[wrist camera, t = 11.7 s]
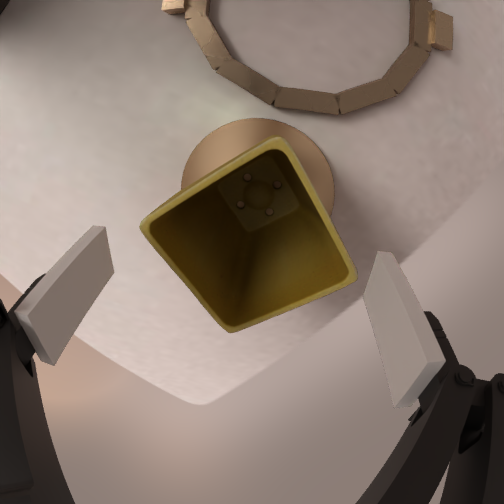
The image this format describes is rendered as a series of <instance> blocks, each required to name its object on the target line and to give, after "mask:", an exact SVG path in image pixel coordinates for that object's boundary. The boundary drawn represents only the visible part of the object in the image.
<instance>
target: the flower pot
mask: <svg viewBox="0 0 504 504" xmlns="http://www.w3.org/2000/svg"><path fill="white" fill-rule="evenodd" d="M245 174H250V175H251V180H249V181H246V180H245V179H244V175H245ZM275 181H279V182H280V183H281V186H280V187H279V188H275V187H274V185H273V184H274V182H275ZM239 201H242V202H244V204H245V205H244V207H242V208H240V207H238V206H237V203H238V202H239ZM268 208H271V209H272V210H273V213H272V214H271V215H268V214H267V213H266V210H267V209H268ZM139 227H140V230H141V232H142V233H143V235H144V236H145V238H146V239H147V240H148V241H149V243H150V244H151V245H152V246H153V247H154V249H155V250H156V251H157V252H158V253H159V255H160V256H161V257H162V258H163V259H164V260H165V261H166V263H167V264H168V265H169V266H170V267H171V269H172V270H173V271H174V272H175V273H176V274H177V275H178V276H179V278H180V279H181V280H182V281H183V282H184V283H185V285H186V286H187V287H188V288H189V289H190V291H191V292H192V293H193V294H194V296H195V297H196V298H197V299H198V300H199V302H200V303H201V304H202V305H203V307H204V308H205V309H206V310H207V311H208V313H209V314H210V315H211V316H212V317H213V318H214V320H215V321H216V322H217V323H218V324H219V325H220V326H221V327H222V328H223V329H224V330H226V331H227V332H228V333H234V332H238V331H241V330H243V329H246V328H248V327H250V326H253V325H256V324H258V323H261V322H263V321H265V320H268V319H270V318H272V317H275V316H278V315H280V314H283V313H285V312H287V311H290V310H292V309H294V308H297V307H299V306H302V305H304V304H307V303H309V302H311V301H313V300H316V299H318V298H321V297H324V296H326V295H328V294H330V293H332V292H335V291H337V290H339V289H342V288H344V287H345V286H347V285H349V284H351V283H353V282H355V281H356V280H357V279H358V272H357V269H356V267H355V265H354V263H353V261H352V260H351V258H350V256H349V254H348V252H347V250H346V248H345V246H344V244H343V242H342V240H341V238H340V236H339V234H338V232H337V230H336V228H335V226H334V224H333V222H332V220H331V218H330V216H329V214H328V212H327V210H326V209H325V207H324V205H323V203H322V201H321V199H320V197H319V195H318V194H317V192H316V190H315V188H314V186H313V184H312V182H311V181H310V179H309V177H308V175H307V173H306V171H305V169H304V167H303V166H302V164H301V162H300V160H299V158H298V157H297V155H296V153H295V151H294V150H293V148H292V147H291V145H290V143H289V142H288V141H287V140H286V139H285V138H283V137H282V136H279V135H272V136H270V137H268V138H266V139H264V140H263V141H261V142H259V143H258V144H256V145H254V146H253V147H251V148H249V149H248V150H246V151H244V152H243V153H241V154H239V155H238V156H236V157H234V158H233V159H231V160H229V161H228V162H226V163H224V164H223V165H221V166H219V167H218V168H216V169H215V170H213V171H211V172H210V173H208V174H206V175H205V176H203V177H202V178H200V179H198V180H197V181H195V182H193V183H192V184H190V185H189V186H187V187H185V188H184V189H182V190H181V191H179V192H178V193H176V194H175V195H173V196H172V197H171V198H170V199H168V200H167V201H166V202H164V203H163V204H162V205H160V206H159V207H158V208H156V209H155V210H154V211H153V212H151V213H150V214H149V215H148V216H147V217H145V218H144V219H143V220H142V221H141V224H140V226H139Z"/></svg>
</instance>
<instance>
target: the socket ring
mask: <svg viewBox="0 0 504 504" xmlns="http://www.w3.org/2000/svg"><path fill="white" fill-rule="evenodd" d="M409 1H410V31H409V45H408V46H407V47H406V49H405V50H404V51H403V52H402V54H401V55H400V56H399V57H398V59H397V60H396V61H395V62H394V64H393V65H392V66H391V67H390V69H389V70H388V71H387V72H386V74H385V75H384V76H383V77H382V78H381V79H378V80H375V81H372V82H369V83H366V84H363V85H360V86H357V87H354V88H351V89H348V90H345V91H342V92H339V93H337V94H332V93H325V92H319V91H312V90H304V89H296V88H287V87H279V86H277V85H276V84H274V83H273V82H271V81H270V80H268V79H266V78H265V77H263V76H262V75H260V74H258V73H257V72H255V71H254V70H252V69H250V68H249V67H247V66H245V65H243V64H242V63H240V62H238V61H237V60H235V59H233V58H232V56H231V55H230V53H229V51H228V49H227V48H226V46H225V44H224V42H223V41H222V39H221V37H220V36H219V34H218V32H217V30H216V29H215V27H214V25H213V24H212V22H211V20H210V19H209V7H210V0H163V3H162V10H163V11H164V12H166V13H168V14H178V13H185V19H187V20H188V21H186V23H187V25H188V27H189V28H190V30H191V32H192V34H193V35H194V37H195V39H196V40H197V42H198V44H199V46H200V47H201V49H202V51H203V53H204V54H205V56H206V58H207V60H208V61H209V63H210V65H211V67H212V69H213V70H217V72H216V73H218V74H220V75H221V76H223V77H225V78H227V79H228V80H230V81H232V82H233V83H235V84H237V85H238V86H240V87H242V88H243V89H245V90H247V91H248V92H250V93H251V94H253V95H255V96H256V97H258V98H259V99H261V100H262V101H264V102H266V103H267V104H269V105H271V103H272V102H273V100H274V99H275V103H274V107H281V108H291V109H300V110H308V111H315V112H322V113H329V114H335V115H338V111H339V113H340V114H342V115H343V114H345V113H348V112H351V111H354V110H356V109H359V108H362V107H365V106H368V105H371V104H374V103H377V102H380V101H383V100H386V99H389V98H392V97H395V96H396V94H400V93H401V91H402V90H403V89H404V88H405V86H406V85H407V84H408V82H409V81H410V80H411V79H412V77H413V76H414V75H415V74H416V72H417V71H418V70H419V68H420V67H421V66H422V65H423V63H424V62H425V61H426V59H427V58H428V57H429V56H430V55H429V54H428V53H427V52H431V47H434V48H436V49H439V50H441V51H446V50H452V44H453V17H452V16H449V15H447V14H445V13H443V12H440V11H438V10H433V11H432V3H430V2H428V1H430V0H409Z"/></svg>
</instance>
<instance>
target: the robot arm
mask: <svg viewBox="0 0 504 504" xmlns="http://www.w3.org/2000/svg"><path fill="white" fill-rule="evenodd" d="M8 1H9V0H0V13H1V12H2V10H3V9H4V7H5V6H6V4H7V3H8ZM113 274H114V268H113V264H112V259H111V254H110V249H109V244H108V239H107V233H106V227H105V226H92V227H91V228H90V229H89V230H88V231H87V232H86V233H85V234H84V235H83V236H82V237H81V238H80V239H79V240H78V241H77V242H76V243H75V244H74V245H73V246H72V247H71V248H70V249H69V250H68V251H67V252H66V253H65V254H64V255H63V256H62V257H61V258H60V259H59V260H58V262H57V263H56V264H55V265H54V266H53V267H52V268H51V269H50V270H49V271H48V272H47V273H46V274H43V275H42V276H40V277H39V278H37V279H36V280H35V281H34V282H33V283H32V284H31V286H30V288H28V289H27V290H26V291H25V292H24V293H25V294H23V295H22V296H21V297H20V298H19V299H18V301H17V302H16V303H15V304H14V306H13V307H12V308H11V309H10V310H9V312H8V313H7V311H6V309H5V307H4V304H3V302H2V300H1V299H0V504H75V502H74V500H73V498H72V495H71V493H70V491H69V488H68V486H67V483H66V480H65V478H64V475H63V473H62V470H61V467H60V464H59V461H58V458H57V455H56V452H55V449H54V446H53V443H52V439H51V436H50V432H49V428H48V425H47V421H46V417H45V413H44V408H43V404H42V399H41V394H40V389H39V384H38V379H37V373H36V367H35V362H34V359H33V358H32V356H33V355H34V353H35V352H36V353H37V355H38V357H39V358H40V360H41V361H42V362H45V363H48V364H51V365H53V366H54V365H55V364H56V362H57V360H58V359H59V357H60V355H61V354H62V352H63V350H64V349H65V347H66V345H67V343H68V342H69V340H70V338H71V337H72V335H73V334H74V332H75V331H76V329H77V327H78V326H79V324H80V323H81V321H82V319H83V318H84V316H85V315H86V313H87V312H88V310H89V309H90V307H91V306H92V304H93V303H94V301H95V300H96V298H97V297H98V295H99V294H100V292H101V291H102V289H103V288H104V286H105V285H106V284H107V282H108V281H109V279H110V278H111V276H112V275H113ZM363 299H364V302H365V305H366V308H367V311H368V315H369V318H370V321H371V324H372V328H373V331H374V335H375V338H376V341H377V344H378V348H379V352H380V355H381V359H382V363H383V366H384V370H385V374H386V377H387V381H388V385H389V390H390V393H391V398H392V402H393V406H394V408H400V407H410V406H412V405H413V403H414V402H415V401H416V400H417V399H419V402H420V407H419V408H418V409H417V410H416V411H415V412H414V414H413V415H412V416H411V417H410V418H409V419H408V420H409V421H411V422H410V424H409V425H408V427H407V429H406V430H405V432H404V434H403V436H402V437H401V439H400V441H399V442H398V444H397V446H396V447H395V449H394V450H393V452H392V454H391V455H390V457H389V458H388V460H387V461H386V463H385V464H384V466H383V467H382V469H381V470H380V472H379V473H378V474H377V476H376V477H375V479H374V480H373V482H372V483H371V484H370V486H369V487H368V488H367V490H366V491H365V492H364V494H363V495H362V496H361V498H360V499H359V500H358V501H357V503H356V504H429V502H430V500H431V498H432V496H433V495H434V493H435V491H436V489H437V487H438V485H439V483H440V481H441V479H442V477H443V475H444V473H445V471H446V469H447V466H448V464H449V462H450V464H449V468H448V473H447V477H446V482H445V486H444V490H443V493H442V497H441V501H440V504H504V374H502V373H498V374H496V375H495V376H494V377H493V378H492V379H491V381H485V380H480V379H476V377H475V375H474V373H473V372H472V370H470V369H469V368H468V367H466V366H463V365H459V363H458V361H457V358H456V356H455V354H454V351H453V349H452V347H451V345H450V343H449V341H448V339H447V338H446V334H445V333H444V331H443V328H442V326H441V324H440V323H439V320H438V319H437V318H436V317H435V316H434V315H433V314H432V313H431V312H429V311H428V312H427V311H426V312H425V311H423V310H422V308H421V306H420V304H419V302H418V300H417V298H416V296H415V294H414V292H413V290H412V288H411V286H410V285H409V282H408V281H407V279H406V277H405V275H404V273H403V271H402V270H401V268H400V266H399V264H398V262H397V261H396V259H395V257H394V255H393V254H392V252H384V251H377V255H376V258H375V261H374V264H373V267H372V270H371V274H370V277H369V280H368V283H367V286H366V289H365V291H364V294H363Z"/></svg>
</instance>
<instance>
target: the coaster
mask: <svg viewBox="0 0 504 504" xmlns="http://www.w3.org/2000/svg"><path fill="white" fill-rule="evenodd" d="M272 135H279V136H282V137H283V138H285V139H286V140H287V141H288V142H289V143H290V145H291V147H292V148H293V150H294V151H295V153H296V155H297V157H298V158H299V160H300V162H301V164H302V166H303V167H304V169H305V171H306V173H307V175H308V177H309V179H310V181H311V182H312V184H313V186H314V188H315V190H316V192H317V194H318V195H319V197H320V199H321V201H322V203H323V205H324V207H325V209H326V210H327V212H328V214H329V216H331V213H332V209H333V205H334V196H335V195H334V182H333V176H332V173H331V170H330V167H329V165H328V163H327V161H326V159H325V157H324V155H323V154H322V153H321V151H320V150H319V148H318V147H317V146H316V145H315V144H314V142H313V141H312V140H311V139H309V138H308V137H307V136H306V135H305V134H303V133H302V132H300V131H299V130H297V129H296V128H294V127H292V126H290V125H287V124H285V123H282V122H279V121H275V120H270V119H264V118H250V119H242V120H238V121H234V122H231V123H229V124H226V125H224V126H222V127H220V128H218V129H216V130H215V131H213V132H211V133H210V134H209V135H208V136H206V137H205V138H204V139H203V140H202V141H201V142H200V143H199V144H198V145H197V146H196V148H195V149H194V151H193V152H192V153H191V155H190V157H189V159H188V161H187V163H186V166H185V169H184V172H183V176H182V182H181V190H182V189H184V188H185V187H187V186H189V185H190V184H192V183H193V182H195V181H197V180H198V179H200V178H202V177H203V176H205V175H206V174H208V173H210V172H211V171H213V170H215V169H216V168H218V167H219V166H221V165H223V164H224V163H226V162H228V161H229V160H231V159H233V158H234V157H236V156H238V155H239V154H241V153H243V152H244V151H246V150H248V149H249V148H251V147H253V146H254V145H256V144H258V143H259V142H261V141H263V140H264V139H266V138H268V137H270V136H272ZM244 179H245V180H246V181H249V180H251V175H250V174H245V175H244ZM273 185H274V187H275V188H279V187H280V186H281V183H280V182H279V181H275V182H274V184H273ZM244 205H245V204H244V202H242V201H239V202H238V203H237V206H238V207H240V208H242V207H244ZM266 213H267V214H268V215H271V214H272V213H273V210H272V209H271V208H268V209H267V210H266Z"/></svg>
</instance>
